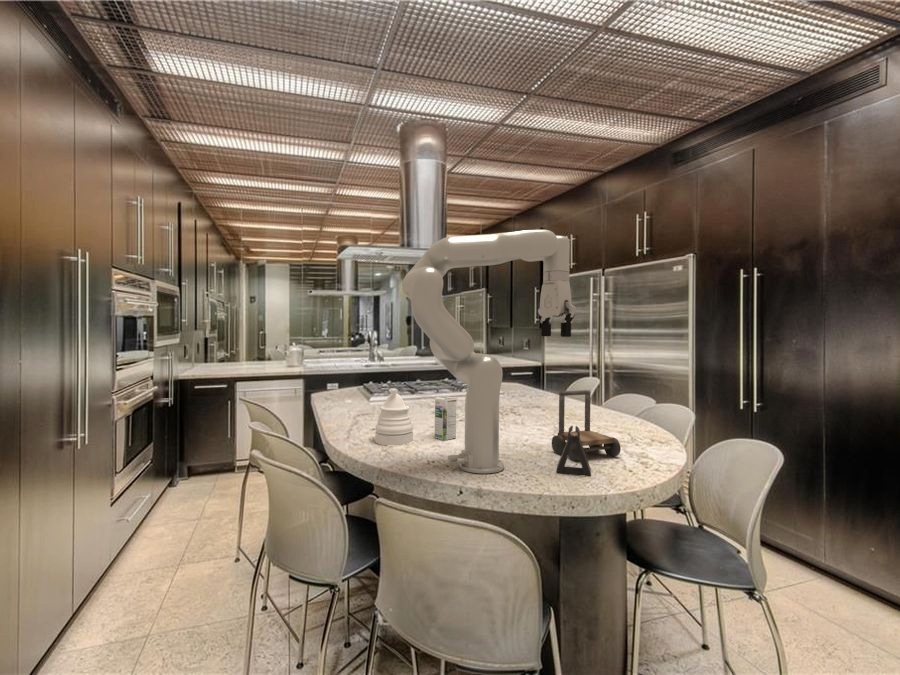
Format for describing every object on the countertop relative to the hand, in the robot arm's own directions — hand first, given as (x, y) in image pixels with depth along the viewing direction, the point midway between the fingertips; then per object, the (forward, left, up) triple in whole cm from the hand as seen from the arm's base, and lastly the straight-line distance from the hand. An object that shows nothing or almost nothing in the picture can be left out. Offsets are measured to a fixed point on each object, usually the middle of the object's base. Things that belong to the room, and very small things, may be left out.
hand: (555, 336), depth 137 cm
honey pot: (-39, +38, -37) cm, 66 cm away
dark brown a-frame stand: (-2, -12, -37) cm, 39 cm away
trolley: (+12, +1, -37) cm, 39 cm away
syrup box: (-21, +36, -37) cm, 56 cm away
